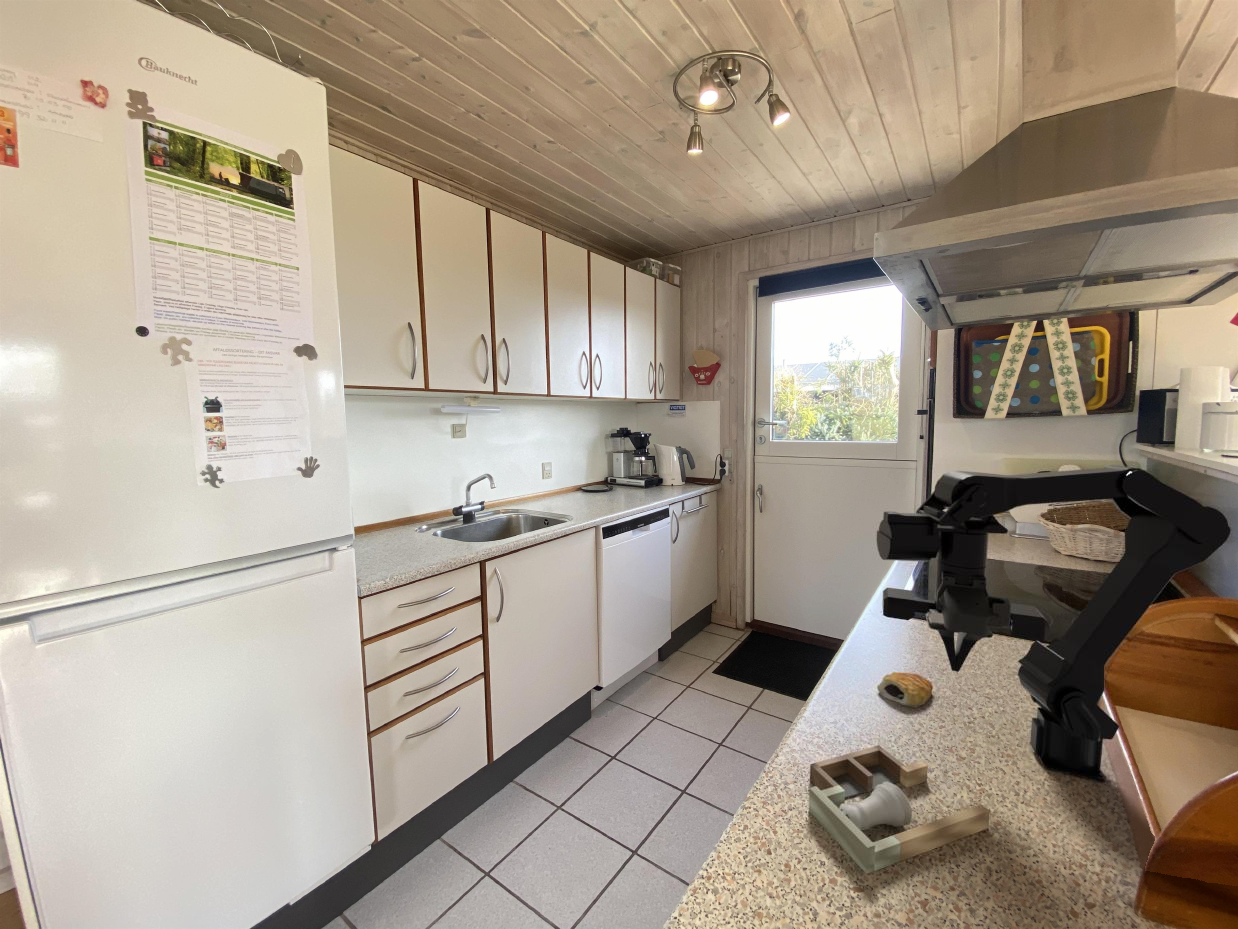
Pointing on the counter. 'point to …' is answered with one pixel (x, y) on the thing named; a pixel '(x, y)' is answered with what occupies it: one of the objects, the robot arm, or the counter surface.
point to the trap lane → (863, 776)
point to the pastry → (906, 688)
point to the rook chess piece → (880, 808)
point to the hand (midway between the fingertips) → (954, 670)
